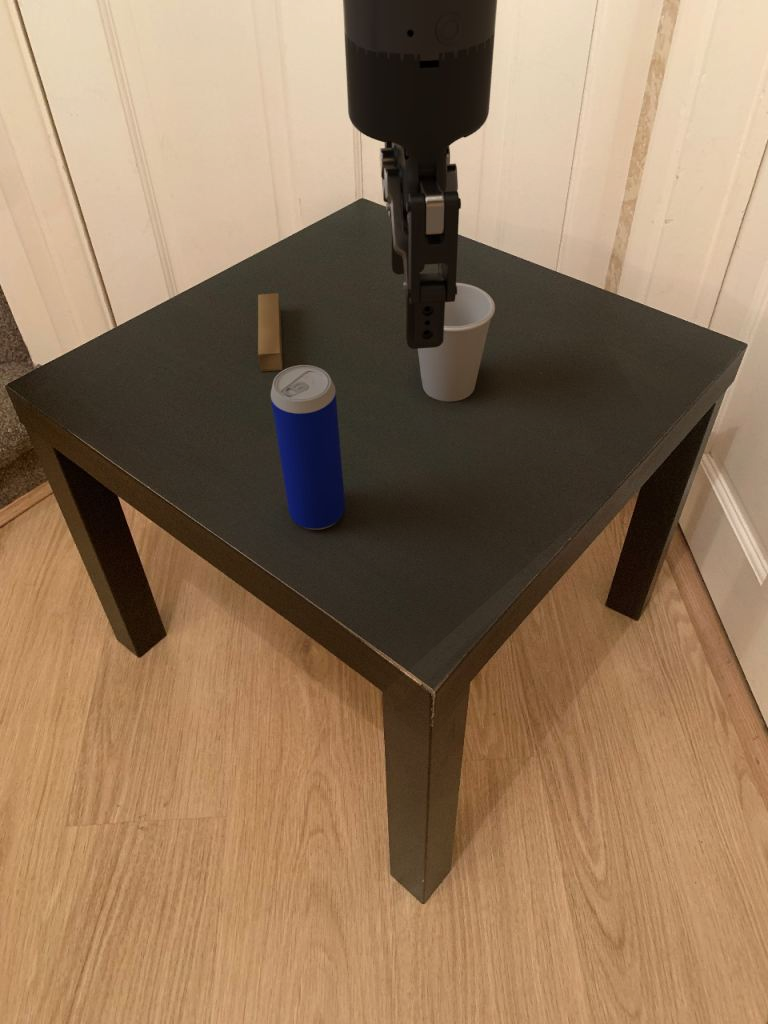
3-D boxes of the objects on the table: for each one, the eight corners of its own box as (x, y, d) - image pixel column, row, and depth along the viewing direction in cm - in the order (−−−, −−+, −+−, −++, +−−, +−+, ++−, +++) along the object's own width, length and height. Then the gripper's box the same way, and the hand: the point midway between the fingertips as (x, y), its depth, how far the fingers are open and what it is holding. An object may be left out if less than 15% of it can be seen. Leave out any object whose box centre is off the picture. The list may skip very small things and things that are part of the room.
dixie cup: (417, 414, 82) (418, 332, 75) (404, 365, 88) (403, 285, 81) (496, 404, 83) (504, 323, 76) (477, 357, 89) (484, 277, 81)
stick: (260, 372, 88) (257, 354, 86) (260, 311, 96) (258, 294, 94) (282, 370, 88) (280, 352, 86) (280, 310, 96) (278, 292, 94)
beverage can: (320, 484, 76) (305, 354, 65) (356, 512, 73) (348, 382, 62) (278, 512, 73) (255, 383, 62) (314, 542, 71) (298, 412, 60)
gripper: (335, -15, 44) (350, 254, 56) (354, 77, 34) (366, 378, 46) (469, -21, 44) (455, 247, 56) (525, 67, 35) (494, 368, 47)
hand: (415, 306), depth 51 cm, fingers open, 8 cm apart
